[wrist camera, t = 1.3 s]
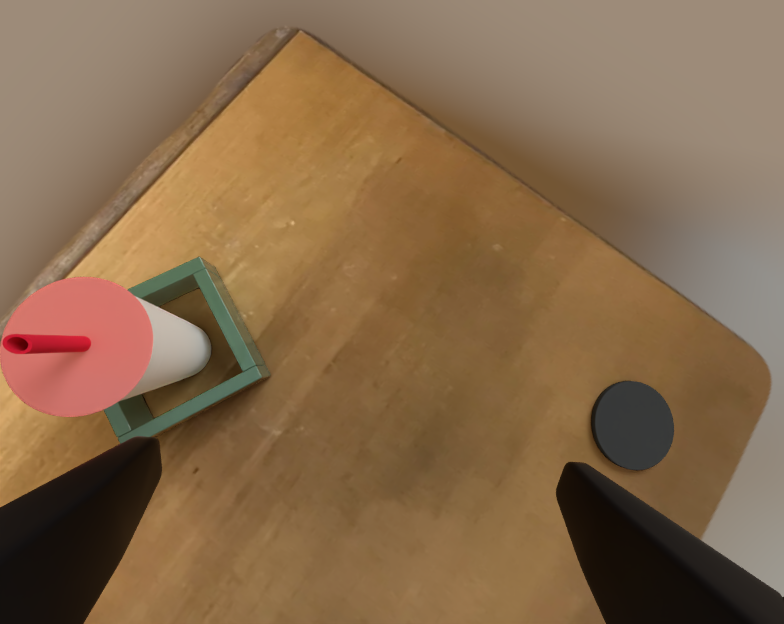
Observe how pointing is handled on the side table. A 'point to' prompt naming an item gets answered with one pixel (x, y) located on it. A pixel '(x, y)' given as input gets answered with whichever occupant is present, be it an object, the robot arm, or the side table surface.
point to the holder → (134, 413)
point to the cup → (95, 347)
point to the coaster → (632, 425)
